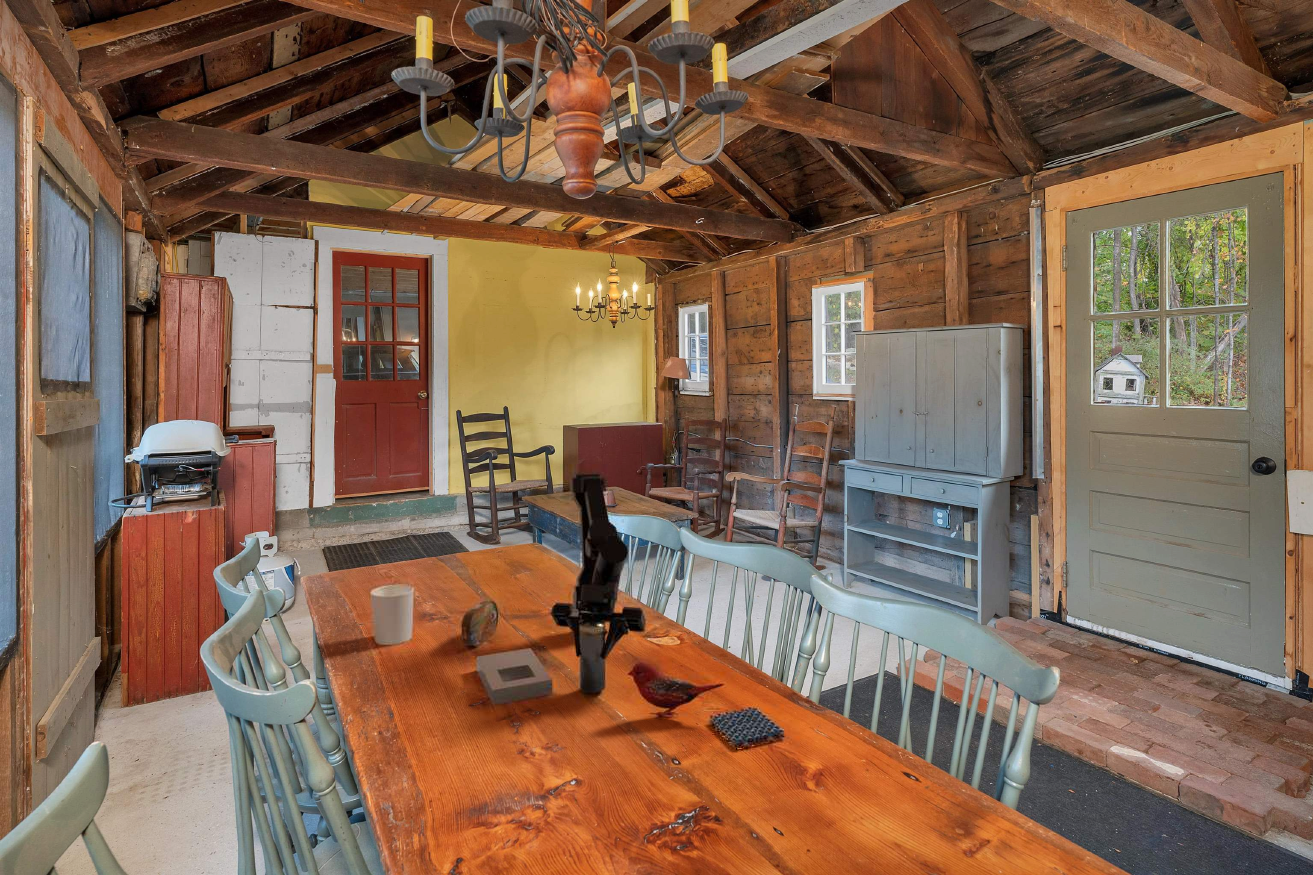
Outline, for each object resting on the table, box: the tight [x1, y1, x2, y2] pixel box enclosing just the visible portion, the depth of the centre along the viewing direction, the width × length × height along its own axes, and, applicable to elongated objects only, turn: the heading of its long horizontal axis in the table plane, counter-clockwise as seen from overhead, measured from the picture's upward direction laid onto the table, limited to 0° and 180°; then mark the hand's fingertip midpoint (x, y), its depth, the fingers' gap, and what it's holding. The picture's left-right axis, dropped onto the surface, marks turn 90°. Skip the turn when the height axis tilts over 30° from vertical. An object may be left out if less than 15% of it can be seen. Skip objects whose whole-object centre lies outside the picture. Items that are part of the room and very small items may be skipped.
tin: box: [460, 600, 499, 647], centre depth 163 cm, size 15×3×8 cm, turn 168°
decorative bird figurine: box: [627, 662, 725, 717], centre depth 124 cm, size 3×18×10 cm, turn 88°
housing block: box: [476, 647, 554, 706], centre depth 139 cm, size 12×18×3 cm, turn 24°
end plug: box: [579, 619, 606, 694], centre depth 135 cm, size 5×5×13 cm
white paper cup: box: [369, 584, 415, 646], centre depth 163 cm, size 10×10×12 cm
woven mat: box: [707, 706, 787, 749], centre depth 119 cm, size 10×11×2 cm
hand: (590, 657), depth 133 cm, fingers closed on end plug, 5 cm apart
